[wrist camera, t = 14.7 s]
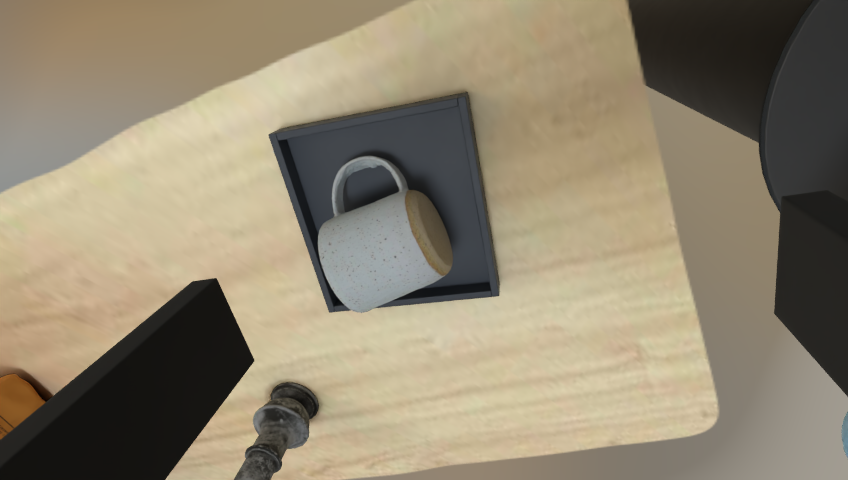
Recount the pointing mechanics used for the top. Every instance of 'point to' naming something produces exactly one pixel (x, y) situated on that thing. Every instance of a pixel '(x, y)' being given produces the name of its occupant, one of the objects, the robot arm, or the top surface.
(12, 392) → the coffee package
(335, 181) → the ceramic mug
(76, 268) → the top surface
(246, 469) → the dark chess piece
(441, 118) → the tray
